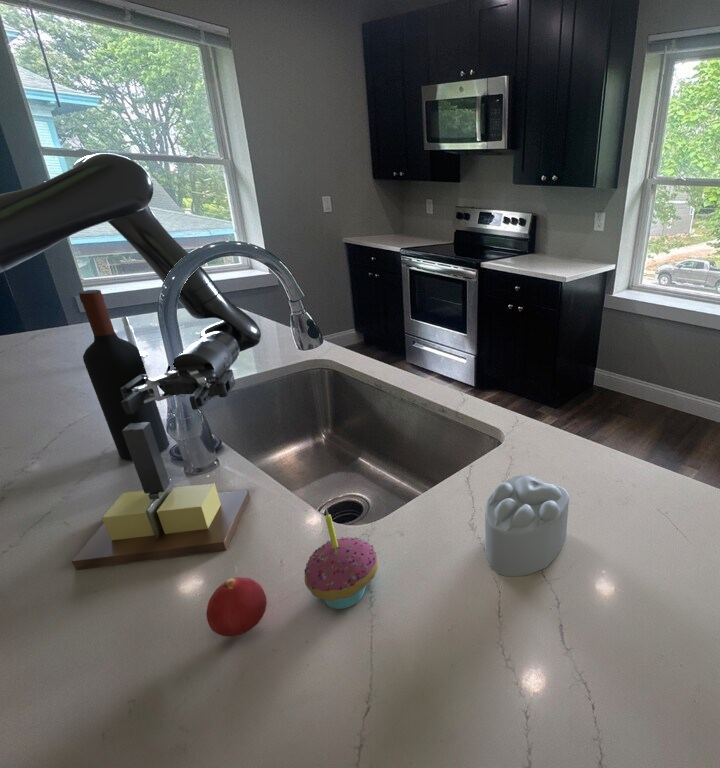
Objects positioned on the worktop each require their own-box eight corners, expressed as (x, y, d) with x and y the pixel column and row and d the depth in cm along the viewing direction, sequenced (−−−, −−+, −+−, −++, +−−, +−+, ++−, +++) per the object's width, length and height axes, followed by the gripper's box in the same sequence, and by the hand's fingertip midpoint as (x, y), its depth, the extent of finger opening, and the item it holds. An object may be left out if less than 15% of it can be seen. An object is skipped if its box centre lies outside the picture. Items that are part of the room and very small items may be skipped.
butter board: (75, 570, 61) (71, 561, 61) (123, 511, 72) (119, 503, 71) (226, 550, 65) (223, 542, 64) (250, 497, 76) (248, 489, 75)
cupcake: (298, 592, 59) (281, 516, 54) (360, 557, 64) (350, 486, 60) (329, 636, 53) (313, 556, 48) (394, 594, 59) (385, 519, 54)
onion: (220, 616, 55) (203, 565, 52) (273, 602, 57) (261, 553, 54) (210, 660, 50) (191, 607, 47) (269, 643, 52) (255, 591, 49)
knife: (147, 540, 64) (109, 441, 58) (171, 505, 71) (139, 413, 65) (166, 538, 65) (131, 440, 58) (188, 503, 72) (159, 412, 65)
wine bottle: (120, 465, 83) (57, 299, 71) (118, 447, 88) (59, 290, 76) (171, 451, 87) (120, 293, 75) (166, 435, 93) (118, 284, 80)
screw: (129, 367, 124) (127, 362, 127) (151, 363, 127) (148, 358, 130) (113, 319, 118) (111, 315, 121) (136, 316, 121) (134, 312, 124)
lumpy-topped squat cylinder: (574, 531, 70) (578, 483, 67) (532, 590, 60) (535, 538, 56) (515, 506, 75) (516, 461, 72) (467, 557, 65) (465, 507, 61)
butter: (111, 540, 64) (101, 517, 63) (131, 514, 69) (123, 492, 67) (208, 528, 67) (201, 506, 65) (221, 504, 72) (214, 483, 70)
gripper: (150, 347, 79) (95, 386, 65) (242, 343, 82) (208, 379, 68) (162, 387, 82) (112, 433, 68) (250, 382, 85) (220, 424, 71)
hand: (160, 406), depth 68 cm, fingers open, 8 cm apart
